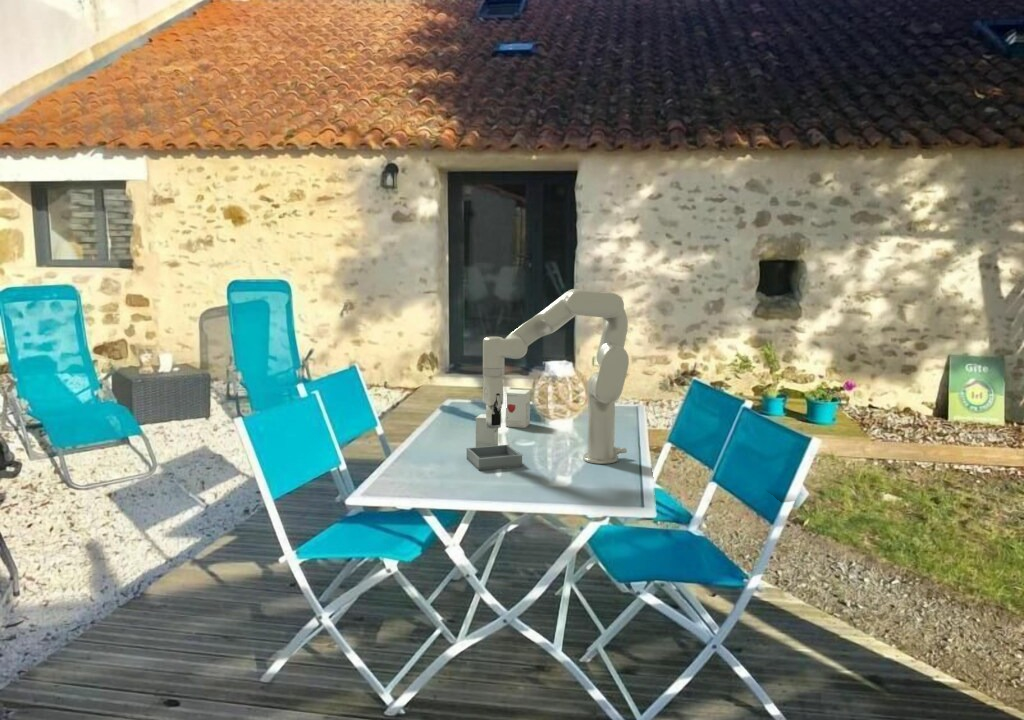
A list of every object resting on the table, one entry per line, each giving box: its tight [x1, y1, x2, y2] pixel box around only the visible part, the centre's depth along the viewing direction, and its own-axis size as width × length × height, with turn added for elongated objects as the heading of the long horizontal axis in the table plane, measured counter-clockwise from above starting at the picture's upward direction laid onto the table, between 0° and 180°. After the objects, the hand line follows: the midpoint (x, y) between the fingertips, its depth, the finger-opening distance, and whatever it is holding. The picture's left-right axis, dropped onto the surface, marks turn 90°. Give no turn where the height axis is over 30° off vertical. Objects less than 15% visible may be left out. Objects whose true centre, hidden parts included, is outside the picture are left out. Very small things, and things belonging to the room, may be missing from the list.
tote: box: [466, 444, 523, 471], centre depth 271 cm, size 16×16×4 cm
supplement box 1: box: [475, 413, 499, 447], centre depth 289 cm, size 7×7×13 cm
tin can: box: [485, 403, 502, 429], centre depth 269 cm, size 5×5×8 cm
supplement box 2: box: [505, 388, 531, 429], centre depth 328 cm, size 9×9×15 cm
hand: (493, 422), depth 269 cm, fingers closed on tin can, 5 cm apart
